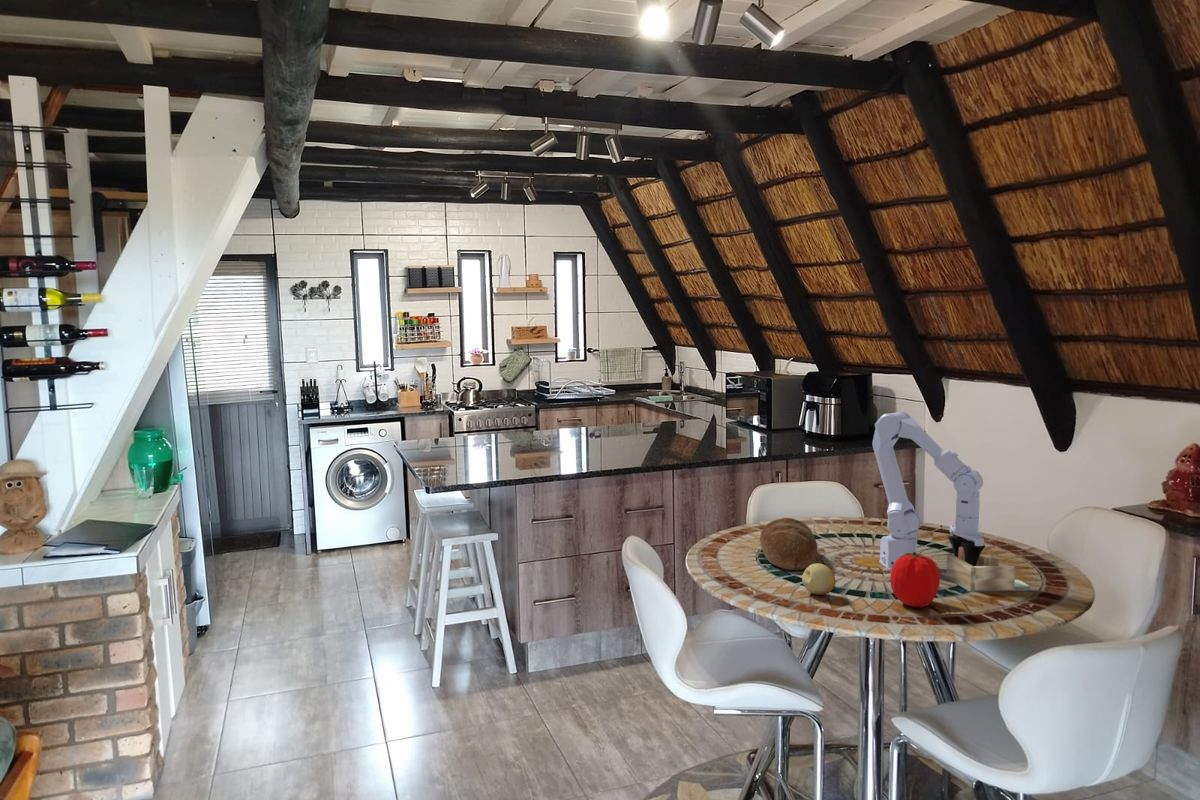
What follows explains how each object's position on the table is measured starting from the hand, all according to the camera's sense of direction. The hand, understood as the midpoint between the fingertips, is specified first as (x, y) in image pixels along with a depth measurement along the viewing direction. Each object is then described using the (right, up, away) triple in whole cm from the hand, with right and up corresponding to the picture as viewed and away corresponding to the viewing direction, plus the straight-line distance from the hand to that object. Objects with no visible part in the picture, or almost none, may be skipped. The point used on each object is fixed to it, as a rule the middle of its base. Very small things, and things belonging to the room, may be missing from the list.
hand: (965, 565), depth 223 cm
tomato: (-22, -6, -21) cm, 31 cm away
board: (+4, -4, -3) cm, 7 cm away
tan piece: (+2, -4, -5) cm, 6 cm away
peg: (0, -3, 0) cm, 3 cm away
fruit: (-43, -5, -13) cm, 46 cm away
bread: (-43, -2, +21) cm, 48 cm away
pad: (+10, -4, -6) cm, 13 cm away
